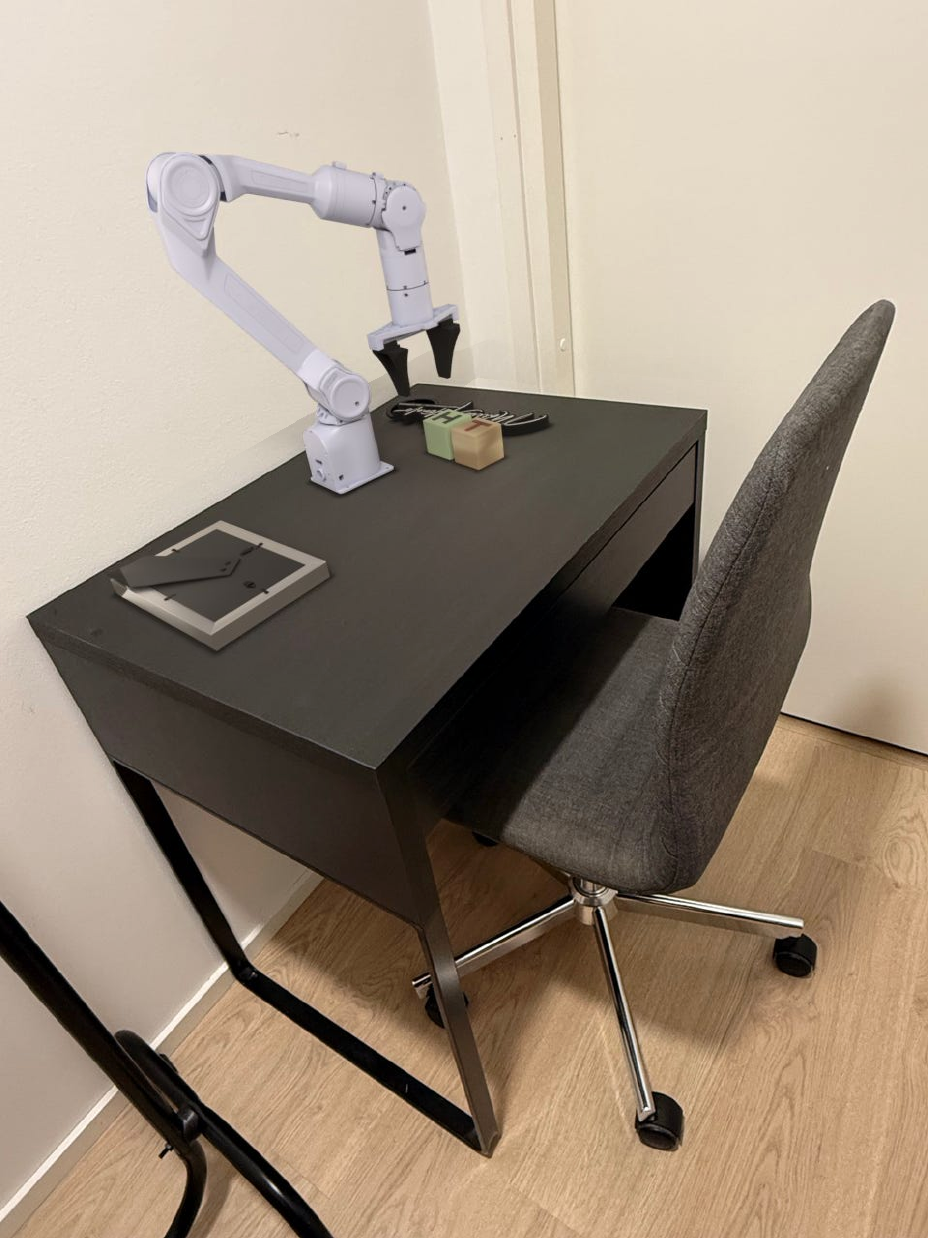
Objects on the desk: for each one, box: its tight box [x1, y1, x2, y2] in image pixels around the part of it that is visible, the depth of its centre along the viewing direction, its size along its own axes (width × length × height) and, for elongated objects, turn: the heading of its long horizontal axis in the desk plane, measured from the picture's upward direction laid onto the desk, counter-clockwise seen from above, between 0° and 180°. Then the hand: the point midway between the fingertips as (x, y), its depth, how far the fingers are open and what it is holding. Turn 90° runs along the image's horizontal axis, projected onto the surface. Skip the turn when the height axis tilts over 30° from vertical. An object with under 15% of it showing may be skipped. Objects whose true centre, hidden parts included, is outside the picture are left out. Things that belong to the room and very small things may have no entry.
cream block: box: [451, 417, 505, 471], centre depth 105 cm, size 5×5×5 cm
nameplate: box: [391, 400, 550, 437], centre depth 118 cm, size 28×2×10 cm
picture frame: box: [107, 520, 331, 652], centre depth 86 cm, size 16×3×21 cm
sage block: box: [422, 409, 471, 461], centre depth 109 cm, size 5×5×5 cm
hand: (424, 385), depth 106 cm, fingers open, 7 cm apart
